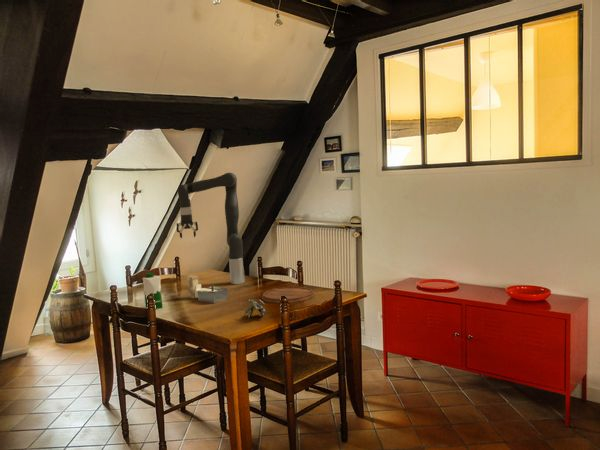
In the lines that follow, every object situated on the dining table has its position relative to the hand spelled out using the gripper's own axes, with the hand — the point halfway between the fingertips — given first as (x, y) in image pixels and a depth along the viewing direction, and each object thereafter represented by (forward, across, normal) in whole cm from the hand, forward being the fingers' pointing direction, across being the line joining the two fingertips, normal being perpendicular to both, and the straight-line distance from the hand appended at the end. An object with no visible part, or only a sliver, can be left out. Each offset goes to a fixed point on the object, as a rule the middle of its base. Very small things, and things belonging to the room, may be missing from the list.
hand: (188, 237), depth 334 cm
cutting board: (+34, +52, -62) cm, 88 cm away
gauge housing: (+33, +9, -48) cm, 59 cm away
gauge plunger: (+32, +5, -44) cm, 54 cm away
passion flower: (+33, +25, -95) cm, 104 cm away
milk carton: (+33, -25, -50) cm, 65 cm away
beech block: (+33, -1, -36) cm, 49 cm away
